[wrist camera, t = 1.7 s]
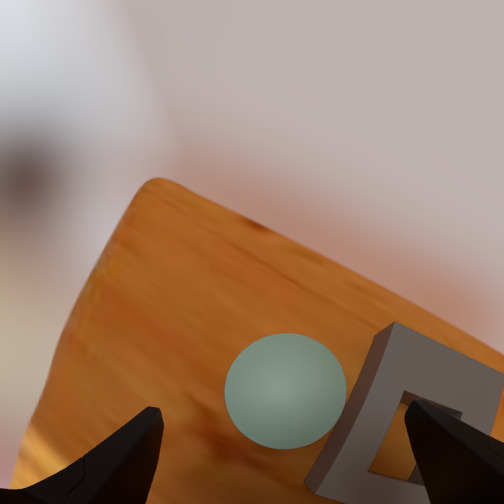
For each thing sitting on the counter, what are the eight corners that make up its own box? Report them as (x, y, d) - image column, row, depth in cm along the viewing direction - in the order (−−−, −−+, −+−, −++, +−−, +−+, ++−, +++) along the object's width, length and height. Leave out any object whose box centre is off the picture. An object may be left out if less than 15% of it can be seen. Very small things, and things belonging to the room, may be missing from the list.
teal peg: (279, 438, 19) (312, 466, 8) (225, 410, 20) (201, 413, 10) (308, 387, 21) (364, 362, 11) (255, 360, 22) (262, 313, 12)
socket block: (429, 510, 13) (453, 519, 10) (303, 481, 17) (314, 494, 13) (479, 382, 20) (505, 374, 16) (374, 335, 23) (394, 321, 20)
